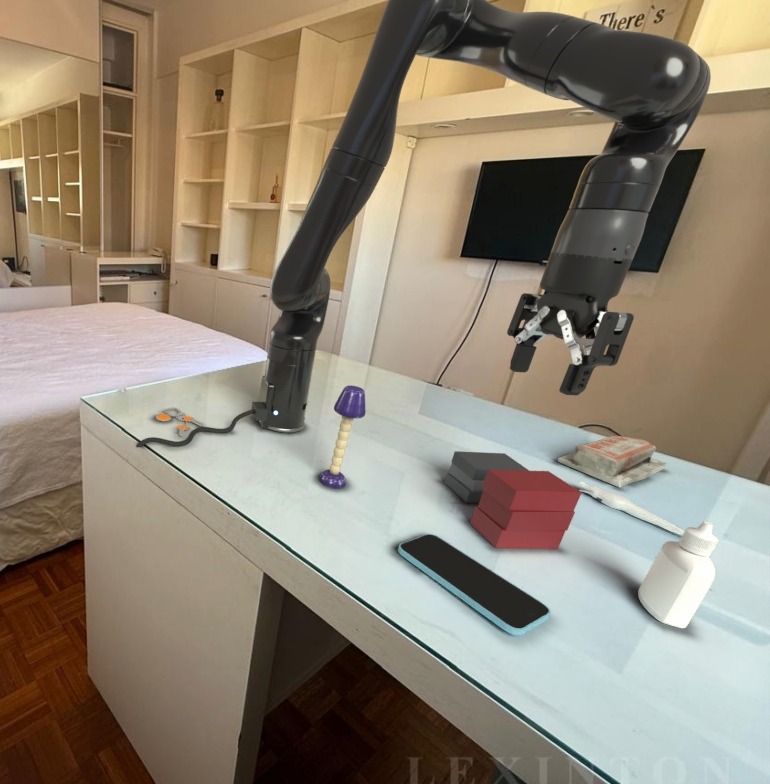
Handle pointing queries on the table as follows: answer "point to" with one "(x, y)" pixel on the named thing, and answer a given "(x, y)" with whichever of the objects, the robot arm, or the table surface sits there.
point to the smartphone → (475, 584)
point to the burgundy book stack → (519, 525)
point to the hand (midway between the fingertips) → (541, 382)
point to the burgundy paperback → (530, 490)
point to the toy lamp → (344, 432)
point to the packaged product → (615, 460)
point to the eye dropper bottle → (680, 577)
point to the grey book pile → (475, 472)
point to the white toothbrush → (628, 507)
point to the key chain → (182, 427)
